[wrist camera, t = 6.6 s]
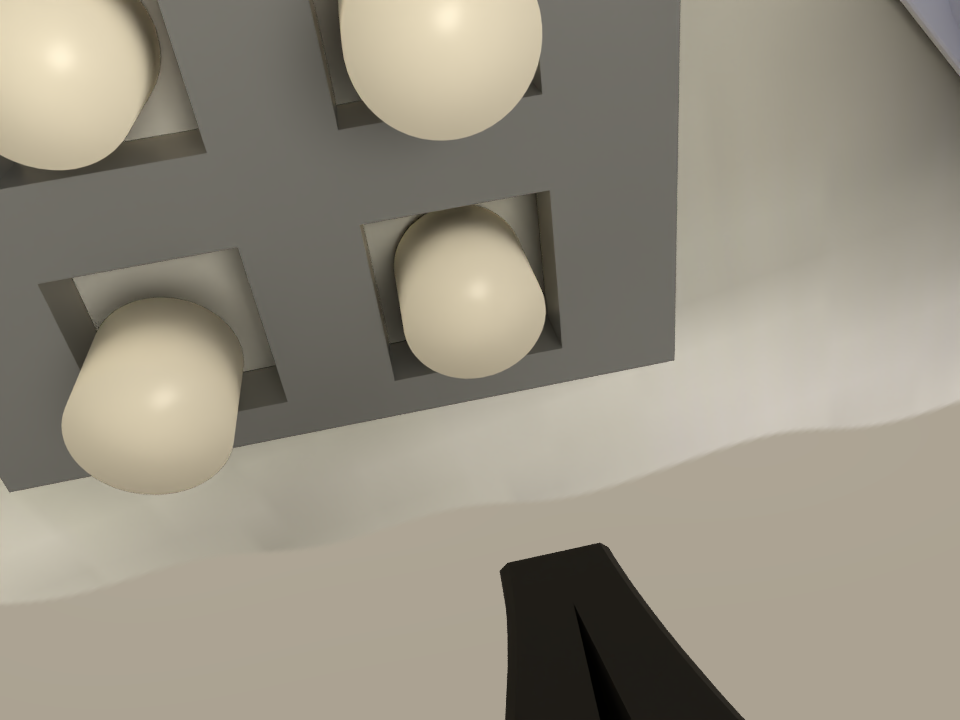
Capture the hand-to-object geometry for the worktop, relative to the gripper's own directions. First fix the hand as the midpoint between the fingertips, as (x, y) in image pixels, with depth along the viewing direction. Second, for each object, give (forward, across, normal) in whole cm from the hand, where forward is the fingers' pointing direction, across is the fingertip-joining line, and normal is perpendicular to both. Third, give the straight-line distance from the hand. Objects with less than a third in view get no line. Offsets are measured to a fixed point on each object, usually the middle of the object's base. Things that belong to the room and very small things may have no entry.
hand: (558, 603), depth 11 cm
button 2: (+10, +6, -6) cm, 13 cm away
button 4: (+8, 0, -6) cm, 10 cm away
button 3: (+10, 0, 0) cm, 10 cm away
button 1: (+8, +6, 0) cm, 10 cm away
